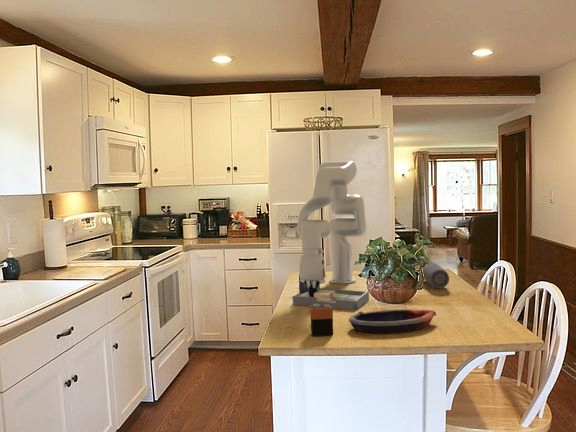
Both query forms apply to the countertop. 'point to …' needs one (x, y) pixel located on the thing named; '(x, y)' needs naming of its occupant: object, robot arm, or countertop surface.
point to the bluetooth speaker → (435, 275)
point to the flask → (304, 286)
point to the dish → (391, 320)
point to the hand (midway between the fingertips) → (312, 296)
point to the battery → (321, 320)
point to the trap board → (336, 299)
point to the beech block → (324, 295)
